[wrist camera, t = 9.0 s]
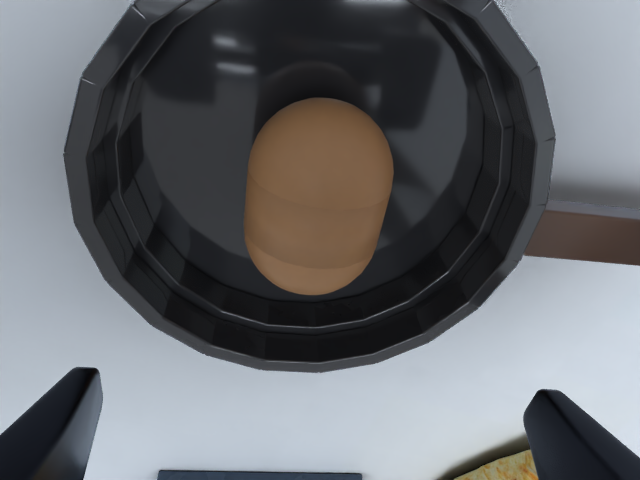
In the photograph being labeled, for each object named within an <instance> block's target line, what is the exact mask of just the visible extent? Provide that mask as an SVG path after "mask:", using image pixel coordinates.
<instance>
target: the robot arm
mask: <svg viewBox="0 0 640 480" xmlns="http://www.w3.org/2000/svg"><path fill="white" fill-rule="evenodd" d="M102 403H103V393H102V386H101V379H100V373H99V370H98V369H97V368H90V367H76V368H74V369H72V370H71V371H70V372H68V373H67V374H66V375H65V376H64V377H63V378H62V379H61V380H60V381H59V382H58V383H56V384H55V385H54V386H53V387H52V388H51V389H50V390H49V391H48V392H47V393H46V394H44V395H43V396H42V397H41V398H40V399H39V400H38V401H37V402H36V403H35V404H34V405H33V406H31V407H30V408H29V409H28V410H27V411H26V412H25V413H24V414H23V415H22V416H21V417H19V418H18V419H17V420H16V421H15V422H14V423H13V424H12V425H11V426H10V427H9V428H7V429H6V430H5V431H4V432H3V433H2V434H1V435H0V480H83V478H84V475H85V471H86V467H87V463H88V459H89V455H90V451H91V447H92V443H93V440H94V436H95V432H96V428H97V424H98V420H99V416H100V412H101V408H102ZM523 421H524V427H525V430H526V434H527V438H528V442H529V446H530V449H531V453H532V457H533V461H534V465H535V468H536V472H537V476H538V480H640V458H639V457H638V456H637V455H636V454H634V453H633V452H632V451H631V450H630V449H629V448H627V447H626V446H625V445H624V444H623V443H621V442H620V441H619V440H618V439H617V438H615V437H614V436H613V435H612V434H611V433H610V432H608V431H607V430H606V429H605V428H604V427H602V426H601V425H600V424H599V423H598V422H597V421H595V420H594V419H593V418H592V417H591V416H589V415H588V414H587V413H586V412H585V411H583V410H582V409H581V408H580V407H579V406H578V405H576V404H575V403H574V402H573V401H572V400H570V399H569V398H568V397H567V396H566V395H565V394H563V393H562V392H560V391H558V390H551V389H541V390H539V391H537V393H536V394H535V396H534V397H533V399H532V400H531V402H530V404H529V405H528V407H527V408H526V410H525V412H524V417H523Z"/></svg>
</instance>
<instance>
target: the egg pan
mask: <svg viewBox="0 0 640 480" xmlns="http://www.w3.org/2000/svg"><path fill="white" fill-rule="evenodd" d="M309 98H332V99H337V100H341V101H344V102H347V103H350V104H352V105H354V106H356V107H357V108H359V109H360V110H362V111H363V112H365V113H366V114H367V115H369V116H370V117H371V118H372V119H373V121H374V122H375V123H376V124H377V125H378V126H379V128H380V129H381V130H382V132H383V134H384V136H385V138H386V140H387V141H388V144H389V148H390V151H391V155H392V159H393V170H394V175H393V182H392V189H391V193H390V197H389V201H388V204H387V208H386V212H385V216H384V219H383V223H382V227H381V231H380V235H379V238H378V242H377V246H376V249H375V251H374V254H373V256H372V259H371V260H370V262H369V263H368V265H367V266H366V268H365V269H364V270H363V272H362V273H361V274H360V275H359V276H358V277H356V278H355V279H354V280H353V281H352V282H351V283H349V284H348V285H346V286H344V287H342V288H340V289H338V290H336V291H334V292H330V293H327V294H321V295H303V294H297V293H293V292H289V291H287V290H284V289H282V288H280V287H278V286H276V285H275V284H273V283H272V282H271V281H269V280H268V279H267V278H266V277H265V276H264V275H263V274H262V273H261V272H260V271H259V270H258V269H257V267H256V266H255V264H254V262H253V261H252V259H251V257H250V255H249V252H248V250H247V246H246V243H245V237H244V212H245V198H246V185H247V172H248V162H249V157H250V152H251V149H252V146H253V144H254V142H255V139H256V137H257V135H258V133H259V132H260V130H261V129H262V127H263V126H264V124H265V123H266V122H267V121H268V120H269V119H270V118H271V117H272V116H274V115H275V114H276V113H277V112H278V111H279V110H281V109H283V108H285V107H286V106H288V105H290V104H292V103H294V102H298V101H301V100H305V99H309ZM555 141H556V139H555V131H554V126H553V122H552V118H551V113H550V109H549V105H548V101H547V96H546V92H545V88H544V83H543V79H542V75H541V71H540V67H539V66H538V62H537V61H536V59H535V58H534V56H533V55H532V54H531V52H530V51H529V49H528V48H527V47H526V45H525V44H524V42H523V41H522V39H521V38H520V37H519V35H518V34H517V32H516V31H515V30H514V28H513V27H512V25H511V24H510V22H509V21H508V20H507V18H506V17H505V15H504V14H503V13H502V11H501V10H500V8H499V7H498V5H497V4H496V3H495V1H494V0H135V1H134V2H133V3H132V4H130V6H129V7H128V8H127V10H126V11H125V13H124V14H123V16H122V17H121V18H120V20H119V21H118V23H117V24H116V25H115V27H114V28H113V30H112V31H111V33H110V34H109V35H108V37H107V38H106V40H105V41H104V43H103V44H102V45H101V47H100V48H99V50H98V51H97V52H96V54H95V55H94V57H93V58H92V60H91V61H90V62H89V64H88V65H87V67H86V68H85V70H84V71H83V72H82V76H81V77H80V81H79V85H78V89H77V94H76V98H75V103H74V107H73V111H72V116H71V120H70V125H69V129H68V134H67V138H66V142H65V147H64V154H63V156H64V162H65V169H66V175H67V182H68V188H69V194H70V201H71V207H72V214H73V220H74V223H75V226H76V228H77V230H78V232H79V234H80V236H81V237H82V239H83V241H84V243H85V245H86V247H87V248H88V250H89V252H90V254H91V256H92V258H93V259H94V261H95V263H96V265H97V267H98V269H99V270H100V272H101V274H102V276H103V278H104V280H105V281H107V283H108V284H109V285H110V286H111V287H112V288H113V289H114V290H115V291H116V292H117V293H118V294H119V295H120V296H121V297H122V298H123V299H124V300H125V301H126V302H127V303H128V304H129V305H130V306H131V307H132V308H134V309H135V310H136V311H137V312H138V313H139V314H140V315H141V316H142V317H143V318H144V319H145V320H146V321H147V322H148V323H149V324H150V325H152V326H153V327H155V328H156V329H158V330H160V331H162V332H164V333H166V334H167V335H169V336H171V337H173V338H175V339H176V340H178V341H180V342H182V343H184V344H186V345H187V346H189V347H191V348H193V349H195V350H196V351H198V352H200V353H202V354H205V355H207V356H211V357H214V358H218V359H222V360H225V361H229V362H233V363H236V364H240V365H244V366H247V367H251V368H255V369H258V370H267V371H288V372H309V373H318V372H319V373H322V372H328V371H334V370H340V369H346V368H352V367H358V366H364V365H370V364H375V363H379V362H381V361H384V360H386V359H389V358H391V357H394V356H396V355H399V354H401V353H404V352H406V351H409V350H411V349H414V348H417V347H419V346H422V345H424V344H427V343H429V342H430V341H432V340H434V339H435V338H437V337H438V336H440V335H441V334H442V333H444V332H445V331H447V330H448V329H450V328H451V327H453V326H454V325H456V324H457V323H458V322H460V321H461V320H463V319H464V318H466V317H467V316H469V315H470V314H472V313H473V312H474V311H476V310H477V309H478V307H481V306H482V305H483V303H484V302H485V301H486V300H487V299H488V298H489V297H490V295H491V294H492V293H493V292H494V291H495V290H496V289H497V288H498V286H499V285H500V284H501V283H502V282H503V281H504V280H505V278H506V277H507V276H508V275H509V274H510V273H511V272H512V271H513V269H514V268H515V267H516V266H517V265H518V264H519V261H521V259H522V257H523V254H524V252H525V250H526V248H527V246H528V244H529V242H530V240H531V238H532V236H533V233H534V231H535V229H536V227H537V225H538V223H539V221H540V219H541V217H542V215H543V213H544V210H545V208H546V204H547V203H548V195H549V187H550V179H551V172H552V164H553V156H554V148H555Z"/></svg>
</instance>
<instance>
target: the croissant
mask: <svg viewBox="0 0 640 480" xmlns="http://www.w3.org/2000/svg"><path fill="white" fill-rule="evenodd" d="M453 480H538V476H537V472H536V468H535V465H534V461H533V457H532V453H531V449H530V450H526V451H523V452H520V453H517V454H515V455H511V456H507V457H504V458H500V459H497V460H495V461H493V462H491V463H488V464H486V465H483V466H481V467H480V468H478V469H476V470H473V471H471V472H469V473H466V474H464V475H462V476H459V477H457V478H455V479H453Z"/></svg>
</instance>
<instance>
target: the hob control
mask: <svg viewBox="0 0 640 480" xmlns="http://www.w3.org/2000/svg"><path fill="white" fill-rule="evenodd" d="M157 480H362V475H361V474H317V473H253V472H189V471H159V474H158V479H157Z"/></svg>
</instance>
